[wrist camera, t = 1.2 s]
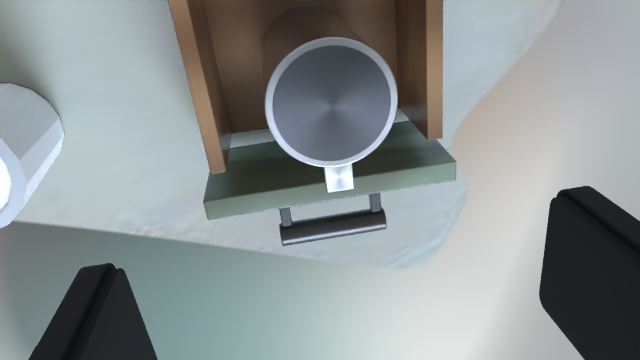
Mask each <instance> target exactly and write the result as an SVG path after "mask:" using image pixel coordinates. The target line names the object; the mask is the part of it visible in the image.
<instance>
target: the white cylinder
mask: <svg viewBox="0 0 640 360" xmlns="http://www.w3.org/2000/svg"><path fill="white" fill-rule="evenodd" d="M63 138H64V132H63V128H62V124H61V120H60V117H59V116H58V114H57V113H56V112H55V110H54V109H53V107H52V106H51V105H50V103H49V102H48V101H47V100H45V99H44V98H42V97H41V96H40V95H38V94H37V93H35V92H34V91H33V90H31V89H28V88H25V87H21V86H18V85H15V84H12V83H2V84H0V228H2V227H4V226H6V225H9V224H10V222H11V221H12V220H13V219H14V218H15V216H16V215H17V214H18V213H19V212H20V211H21V209H22V208H23V207H24V205H25V204H26V202H27V201H28V199H29V198H30V196H31V195H32V193H33V192H34V190H35V189H36V187H37V186H38V184H39V183H40V181H41V180H42V178H43V176H44V175H45V173H46V172H47V170H48V169H49V167H50V166H51V164H52V163H53V161H54V160H55V158H56V157H57V155H58V154H59V152H60V151H61V148H62V143H63Z"/></svg>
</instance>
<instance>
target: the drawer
mask: <svg viewBox="0 0 640 360" xmlns="http://www.w3.org/2000/svg"><path fill="white" fill-rule="evenodd" d="M168 2H169V6H170V10H171V15H172V19H173V23H174V27H175V31H176V35H177V39H178V43H179V47H180V51H181V55H182V59H183V63H184V67H185V71H186V75H187V79H188V83H189V87H190V91H191V95H192V99H193V103H194V107H195V111H196V115H197V119H198V123H199V127H200V131H201V135H202V140H203V144H204V148H205V152H206V156H207V160H208V164H209V168H210V172H209V177H208V181H207V186H206V191H205V196H204V200H203V203H204V207H205V211H206V215H207V218H208V220H212V219H219V218H225V217H231V216H237V215H243V214H250V213H256V212H262V211H268V210H274V209H279V210H280V215H281V221H282V223H280V224H279V228H280V236H281V241H282V245H283V246H287V245H293V244H299V243H305V242H311V241H317V240H323V239H329V238H335V237H341V236H347V235H353V234H359V233H365V232H371V231H378V230H384V229H386V226H387V224H386V216H385V212H384V209H383V208H382V207H381V201H380V192H386V191H393V190H399V189H405V188H411V187H417V186H424V185H430V184H436V183H442V182H448V181H455V180H456V160H455V159H454V158H453V157H452V156H451V155H450V154H449V153H448V152H447V151H446V150H445V149H444V147H443V146H442V145H441V144H440V143H439V142H438V141H437V140H436V139H441V138H442V87H443V0H168ZM301 6H315V7H320V8H323V9H325V10H327V11H329V12H331V13H333V14H334V15H335V16H337V17H338V18H339V19H340V20H341V21H342V22H343V23H345V24H346V25H347V26H348V27H349V28H350V29H351V30H352V31H354V32H355V33H356V34H357V35H358V36H359V37H360V38H361V39H363V40H364V41H365V42H366V43H367V44H368V45H369V46H370V47H372V48H373V49H374V50H375V51H376V52H377V53H378V54H379V55H380V56H381V57H382V58H383V59H384V60H385V62H386V63H387V64H388V66H389V68H390V69H391V71H392V73H393V76H394V78H395V82H396V86H397V92H398V106H397V108H400V109H401V110H402V112H403V113H404V114H405V115H406V116H407V117H408V118H409V120H410V121H403V122H397V123H393V125H392V127H391V129H390V131H389V132H388V134H387V136H386V137H385V139H384V140H383V141H382V142H381V144H380V145H379V146H378V147H377V148H376V149H374V150H373V151H372V152H371V153H370V154H368V155H367V156H365V157H363V158H362V159H360V160H358V161H355V162H353V163H352V168H353V179H354V189H348V190H342V191H335V192H329V193H327V191H326V186H325V178H324V170H323V167H320V166H314V165H310V164H306V163H304V162H302V161H299V160H297V159H296V158H294V157H292V156H291V155H289V154H288V153H287V152H286V151H285V150H284V149H283V148H282V147H281V146H280V145H279V144H278V143H277V141H273V142H266V143H260V144H253V145H247V146H240V147H234V148H230V141H231V134H232V133H237V132H244V131H250V130H257V129H263V128H269V127H268V124H267V120H266V116H265V106H264V83H263V60H262V48H263V42H264V38H265V35H266V33H267V31H268V29H269V28H270V26H271V25H272V23H273V22H274V21H275V20H276V19H277V18H278V17H279V16H280V15H282V14H283V13H285V12H286V11H288V10H290V9H293V8H296V7H301ZM368 194H369V202H370V209H366V210H360V211H354V212H348V213H342V214H335V215H329V216H323V217H317V218H311V219H305V220H298V221H292V219H291V213H290V207H293V206H299V205H306V204H312V203H318V202H324V201H330V200H337V199H343V198H349V197H355V196H361V195H368Z"/></svg>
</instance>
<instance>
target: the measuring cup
mask: <svg viewBox="0 0 640 360" xmlns="http://www.w3.org/2000/svg"><path fill="white" fill-rule="evenodd" d="M262 60H263V83H264V106H265V116H266V120H267V124H268V127H269V129H270V132H271V133H272V135H273V137H274V139H275V140H276V141H277V143H278V144H279V145H280V146H281V147H282V148H283V149H284V150H285V151H286V152H287V153H288V154H289V155H291V156H292V157H294V158H296V159H297V160H299V161H302V162H304V163H306V164H310V165H314V166H320V167H323V170H324V178H325V186H326V191H327V193H329V192H335V191H342V190H348V189H354V179H353V168H352V163H353V162H355V161H358V160H360V159H362V158H363V157H365V156H367V155H368V154H370V153H371V152H372V151H373V150H374V149H376V148H377V147H378V146H379V145H380V144H381V142H382V141H383V140H384V139H385V137H386V136H387V134H388V132H389V131H390V129H391V127H392V125H393V122H394V120H395V116H396V112H397V106H398V92H397V86H396V82H395V78H394V76H393V73H392V71H391V69H390V68H389V66H388V64H387V63H386V62H385V60H384V59H383V58H382V57H381V56H380V55H379V54H378V53H377V52H376V51H375V50H374V49H373V48H372V47H370V46H369V45H368V44H367V43H366V42H365V41H364V40H363V39H361V38H360V37H359V36H358V35H357V34H356V33H355V32H354V31H352V30H351V29H350V28H349V27H348V26H347V25H346V24H345V23H343V22H342V21H341V20H340V19H339V18H338V17H337V16H335V15H334V14H333V13H331V12H329V11H327V10H325V9H323V8H320V7H315V6H301V7H296V8H293V9H290V10H288V11H286V12H285V13H283V14H282V15H280V16H279V17H278V18H277V19H276V20H275V21H274V22H273V23H272V25H271V26H270V28H269V29H268V31H267V33H266V35H265V38H264V42H263V48H262Z"/></svg>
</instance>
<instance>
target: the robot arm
mask: <svg viewBox="0 0 640 360" xmlns="http://www.w3.org/2000/svg"><path fill="white" fill-rule="evenodd" d="M547 226H548V227H547V234H546V242H545V250H544V258H543V266H542V274H541V283H540V291H539V296H540V301H541V304H542V306H543V308H544V309H545V311H546V312H547V313H548V314H549V316H550V317H551V318H552V319H553V321H554V322H555V323H556V324H557V325H558V327H559V328H560V329H561V331H562V332H563V333H564V334H565V335H566V337H567V338H568V339H569V341H570V342H571V343H572V344H573V346H574V347H575V348H576V349H577V351H578V352H579V353H580V354H581V356H582V357H583V358H584V359H585V360H640V221H639V220H637V219H636V218H634V217H633V216H632V215H630V214H629V213H627V212H626V211H625V210H623V209H622V208H620V207H619V206H617V205H616V204H614V203H613V202H612V201H610V200H609V199H608V198H606V197H605V196H603V195H602V194H600V193H599V192H598V191H596V190H595V189H593V188H592V187H590V186H583V187H577V188H571V189H564V190H561V191H560V192H559V193H558V194H557V197H556V198H553V199H552V200H551V203H550V209H549V217H548V225H547ZM29 360H157V357H156V354H155V351H154V348H153V346H152V343H151V340H150V338H149V335H148V332H147V330H146V327H145V324H144V322H143V319H142V316H141V314H140V311H139V308H138V305H137V303H136V300H135V297H134V295H133V292H132V289H131V287H130V284H129V281H128V279H127V276H126V273H125V271H124V270H123V269H122V268H119V269H116V268H115V266H114V265H113V264H111V263H107V264H101V265H94V266H88V267H83V268H81V269H80V270H79V272H78V273H77V275H76V277H75V279H74V281H73V282H72V284H71V286H70V288H69V290H68V291H67V293H66V295H65V297H64V299H63V301H62V302H61V304H60V306H59V308H58V309H57V311H56V313H55V315H54V317H53V318H52V320H51V322H50V324H49V326H48V327H47V329H46V331H45V333H44V334H43V336H42V338H41V340H40V342H39V343H38V345H37V346H36V347H35V349H34V351H33V353H32V354H31V356H30V358H29Z"/></svg>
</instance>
